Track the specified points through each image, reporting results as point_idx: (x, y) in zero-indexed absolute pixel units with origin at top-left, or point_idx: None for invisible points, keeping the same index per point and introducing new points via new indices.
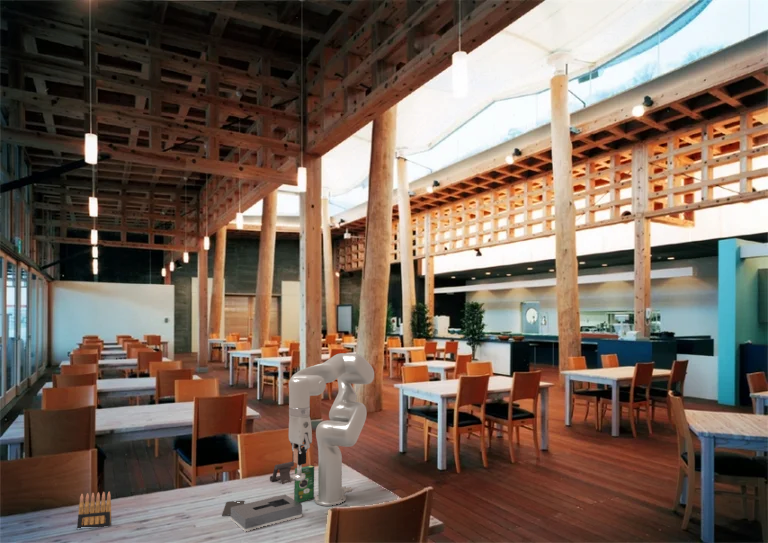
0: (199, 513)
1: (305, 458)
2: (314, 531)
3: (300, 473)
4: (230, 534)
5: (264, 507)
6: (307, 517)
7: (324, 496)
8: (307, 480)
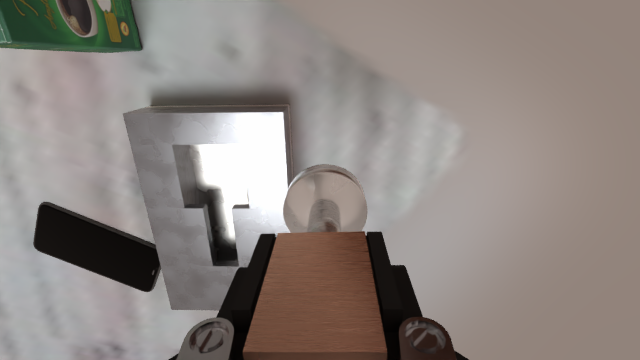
0: (101, 323)
1: (389, 266)
2: (434, 130)
3: (340, 218)
4: None
5: (209, 222)
6: (306, 89)
7: None
8: None
